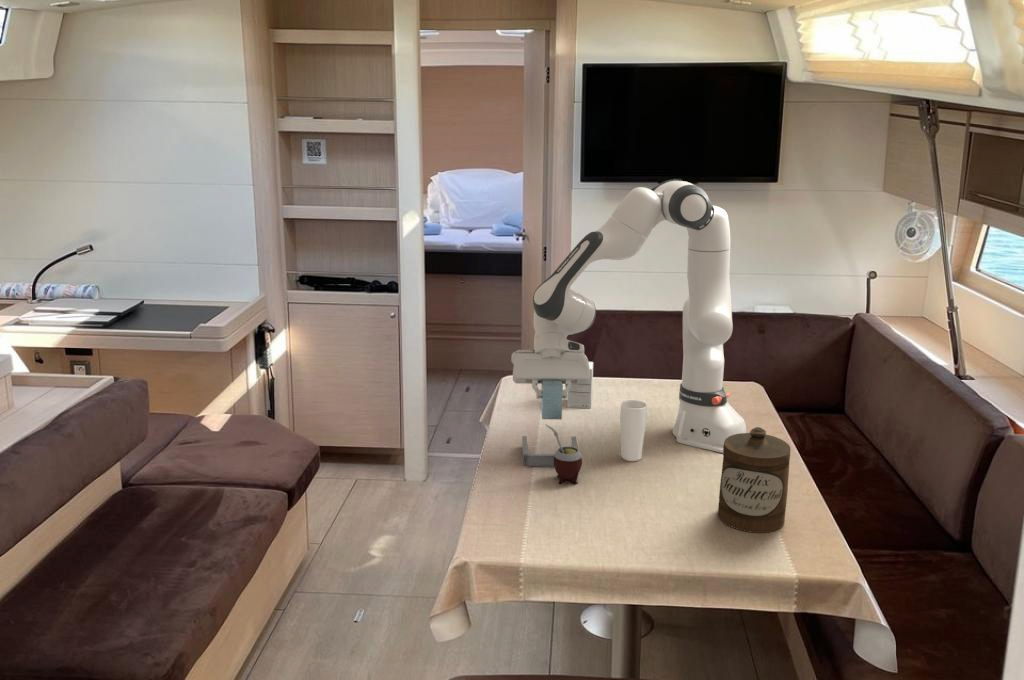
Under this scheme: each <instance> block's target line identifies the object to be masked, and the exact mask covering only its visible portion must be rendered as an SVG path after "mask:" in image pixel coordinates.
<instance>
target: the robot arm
mask: <svg viewBox="0 0 1024 680" xmlns="http://www.w3.org/2000/svg"><path fill="white" fill-rule="evenodd" d="M663 221H668V222H669V223H671V224H674V225H679V226H681V227H684V228H686V231H687V235H688V240H687V242H688V243H687V268H686V269H687V272H686V273H687V274H686V275H687V284H688V285H687V286H688V287H687V288H688V297H687V298H686V299H685V301H684V303H683V306H682V307H683V308H682V349H683V351H682V354H683V358H682V359H683V360H682V374H681V375H682V376H681V383H680V385H679V391H678V392H679V394H678V398H679V399H678V400H679V404H678V405H679V406H678V411H677V416H676V420H675V423H674V425H673V428H672V434H673V435H674V437H676V442H677V443H679V444H683V445H687V446H691V447H695V448H699V449H705V450H709V451H713V452H717V453H721V454H723V447H724V441H725V439H726V438H728V437H729V436H732V435H735V434H740V433H747V424H746V421H745V419H744V418H743V417H742V416H741V415H740V414H739V413H738V412H737V411H736V410H735V409H734V408H733V407H732V406H731V405H730V403H729V402H728V398H729V397H731V395H730V394H731V392H727V393H726V392H725V390H724V386H723V383H724V381H723V380H724V370H725V369H724V368H725V357H724V353H725V352H724V344H726V342H727V341H728V340H729V339H730V338H731V337H732V334H733V330H734V329H733V327H734V325H733V311H732V309H733V308H732V307H733V305H732V292H731V282H730V281H731V280H730V278H731V277H730V276H731V274H730V270H731V269H730V268H731V246H732V245H731V243H732V242H731V229H730V220H729V215H728V213H727V212H726V210H725V209H724V208H721V207H720V206H717V205H713V204H712V201H711V200H710V198H709V196H708V194H707V193H706V192H705V190H704V189H702V188H701V187H700V186H699V185H698V186H697V185H695V184H693V183H691V182H688V181H685V180H684V181H683V180H679V179H668V180H665V181H662V182H661V183H659V184H657V185H656V186H654V187H653V188H647V187H644V186H643V187H642V186H639V187H635V188H633V189H631V191H629V192H628V194H627V195H625V197H623V199H622V200H621V201H620V202H619V204H618V205H617V206H616V208H615V209H614V211H613V212H612V213H611V216H610V217H609V218H608V220H607V221H606V222H605V223H604V224H603V225H602V226H601V227H600V228H598V229H596V230H595V231H590V232H589V233H587V234H586V235H585V236H584V237H583V238H582V239H581V240H580V241H579V242H578V243H577V244H576V245H575V246H574V247H573V249H572V250H571V251H570V252H569V253H568V254H567V256H566V257H565V258H564V259H563V260H562V262H561V263H560V264H559V265H558V266H557V267H556V269H555V270H554V271H553V272H552V274H550V275H549V276H548V278H547V279H545V280H544V281H543V282H542V283H541V284H540V285H539V286H537V288H536V289H535V290H534V293H533V296H532V305H533V308H534V309H533V329H534V338H533V349H517V350H516V351H514V352H512V353H511V355H510V356H511V359H510V361H511V363H512V364H513V367H512V381H513V382H514V384H521V385H523V384H527V385H529V384H531V387H532V390H533V391H534V392H535V395H536V396H535V397H536V399H541V398H542V390H541V389H539V387H538V384H539V385H542V379H557V380H562V385H564V387H565V388H564V389H563V397H562V400H563V399H565V400H567V394H568V391H569V389H570V387H571V384H587V383H588V382H589V380H590V367H589V362H590V361H589V359H588V357H587V355H586V354H585V345H584V344H582V343H579V342H577V341H573V340H570V339H567V338H568V336H569V335H570V336H571V335H576V334H579V333H583V332H585V331H587V330H588V329H590V328H591V327H592V326H593V323H594V322H595V319H596V317H597V316H596V315H597V312H596V311H597V309H596V306H595V305H596V304H595V303H594V301H593V300H591V299H589V298H588V297H586V296H584V295H582V294H581V293H579V292H577V291H575V290H573V289H571V287H572V285H573V284H574V283H575V282H576V280H577V279H578V278H579V277H580V275H582V273H583V272H584V271H585V270H586V269H587V267H588V266H590V264H593V263H594V262H597V261H600V260H611V261H623V260H628V259H630V258H632V257H634V256H635V255H636V254H637V253H638V252H639V251H640V249H642V247H643V246H644V244H645V242H646V241H647V239H648V238H649V236H650V235H651V232H652V231H653V229H654V228H656V226H657V225H659V224H660V222H663Z"/></svg>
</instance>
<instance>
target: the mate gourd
mask: <svg viewBox="0 0 1024 680" xmlns="http://www.w3.org/2000/svg"><path fill="white" fill-rule="evenodd" d="M545 426H546V427H548V428H549V429H550V430H551V431H552V432H553V435H554V436H555V439H556V441H557V444H558V446H559V448H558V449H557V450H556V451H555V452H554V453H553V454H554V460H553V461H554V471H555V472H556V474H557V475H556V477H558V480H559V481H558V482H557V483H558V485H562V484H565V483H567V482H568V483H571V484H573V485H578V477H579V473H580V471H581V469H582V466H583V458H582V454H581V452H580V449H579V450H578V449H576V448H574V447H571V446H562V444H561V440H560V437H559V433H558V432H557V430H555V428H553V427H552V426H550V425H549V424H547V423H545Z"/></svg>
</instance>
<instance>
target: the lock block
mask: <svg viewBox="0 0 1024 680" xmlns="http://www.w3.org/2000/svg"><path fill="white" fill-rule="evenodd" d="M540 385H541V386H540V387H541V389H540V390H542V398H540V414H541V420H560V421H561V420H562V417H563V399H562V397H563V390H564V389H563V388H564V384H562V380H557V379H542V384H540Z"/></svg>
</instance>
